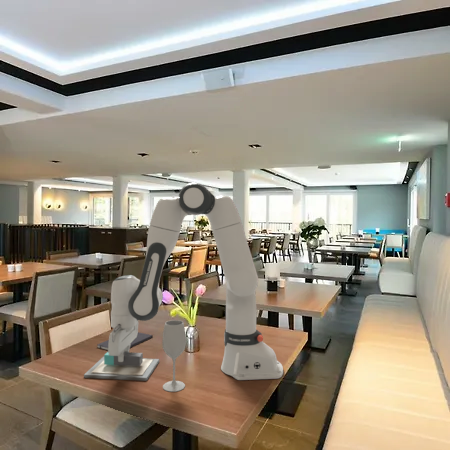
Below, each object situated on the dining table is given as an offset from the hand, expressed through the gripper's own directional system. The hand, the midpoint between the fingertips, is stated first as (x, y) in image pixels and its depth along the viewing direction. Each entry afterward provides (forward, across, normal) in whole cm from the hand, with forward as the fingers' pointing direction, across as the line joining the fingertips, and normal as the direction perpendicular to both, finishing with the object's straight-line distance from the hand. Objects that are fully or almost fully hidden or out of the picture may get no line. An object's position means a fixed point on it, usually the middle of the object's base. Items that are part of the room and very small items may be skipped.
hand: (123, 358), depth 132 cm
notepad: (+4, 0, 0) cm, 4 cm away
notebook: (+5, +27, +9) cm, 29 cm away
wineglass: (+4, -11, -21) cm, 24 cm away
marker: (+2, 0, 0) cm, 2 cm away
